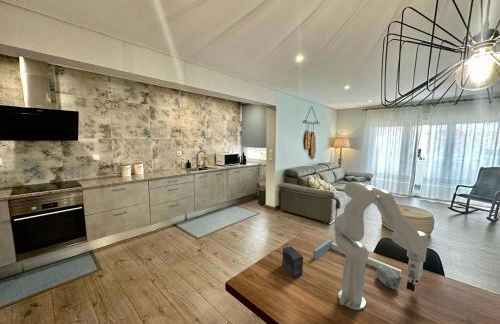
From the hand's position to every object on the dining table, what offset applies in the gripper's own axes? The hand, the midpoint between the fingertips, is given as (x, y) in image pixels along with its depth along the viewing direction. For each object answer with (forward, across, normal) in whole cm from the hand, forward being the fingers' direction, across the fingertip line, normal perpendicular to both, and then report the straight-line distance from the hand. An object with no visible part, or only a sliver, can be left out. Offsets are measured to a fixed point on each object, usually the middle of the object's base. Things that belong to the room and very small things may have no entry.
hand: (412, 285), depth 111 cm
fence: (+5, +1, +30) cm, 31 cm away
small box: (+6, -31, +54) cm, 63 cm away
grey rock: (+6, 0, +12) cm, 13 cm away
